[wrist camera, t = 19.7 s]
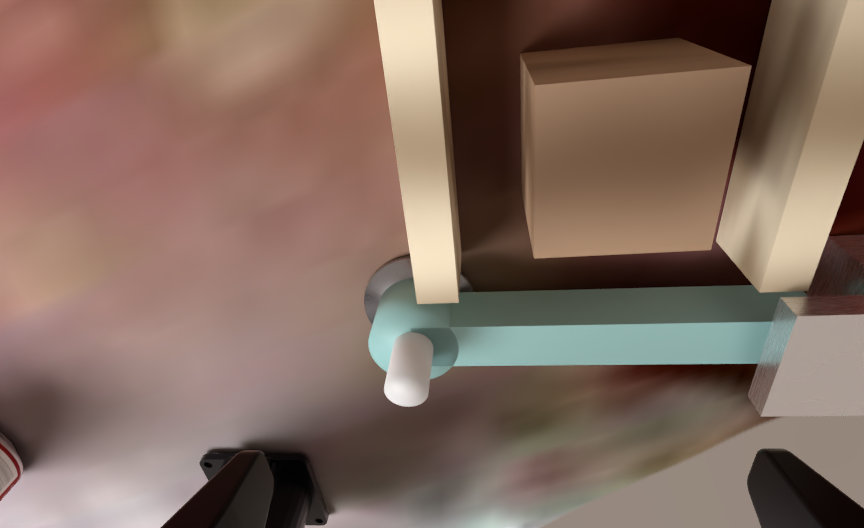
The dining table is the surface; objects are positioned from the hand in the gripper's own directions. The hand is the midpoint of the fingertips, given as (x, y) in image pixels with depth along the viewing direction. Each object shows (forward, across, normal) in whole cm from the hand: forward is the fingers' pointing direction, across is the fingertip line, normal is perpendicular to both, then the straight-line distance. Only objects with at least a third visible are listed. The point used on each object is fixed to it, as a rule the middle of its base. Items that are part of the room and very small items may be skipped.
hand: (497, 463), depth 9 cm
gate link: (+11, -4, +5) cm, 13 cm away
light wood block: (+12, -4, -3) cm, 13 cm away
